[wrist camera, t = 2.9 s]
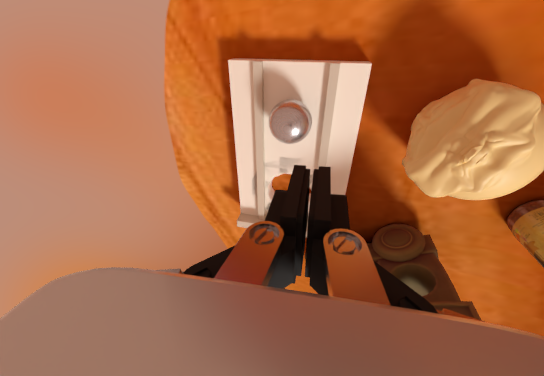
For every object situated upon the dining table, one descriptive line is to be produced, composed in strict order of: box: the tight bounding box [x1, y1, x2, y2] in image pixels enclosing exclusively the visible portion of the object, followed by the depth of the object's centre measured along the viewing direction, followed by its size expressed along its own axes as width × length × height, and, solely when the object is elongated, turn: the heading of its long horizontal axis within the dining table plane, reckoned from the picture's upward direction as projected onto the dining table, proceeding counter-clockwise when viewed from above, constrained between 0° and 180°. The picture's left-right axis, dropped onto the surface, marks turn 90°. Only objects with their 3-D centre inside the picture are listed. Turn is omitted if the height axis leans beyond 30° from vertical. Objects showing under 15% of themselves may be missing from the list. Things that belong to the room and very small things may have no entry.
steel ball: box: [269, 99, 312, 144], centre depth 28 cm, size 5×5×5 cm
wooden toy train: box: [305, 224, 481, 320], centre depth 35 cm, size 20×11×17 cm, turn 114°
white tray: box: [228, 58, 372, 237], centre depth 33 cm, size 24×16×4 cm, turn 0°
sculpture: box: [402, 79, 544, 200], centre depth 25 cm, size 12×12×11 cm
